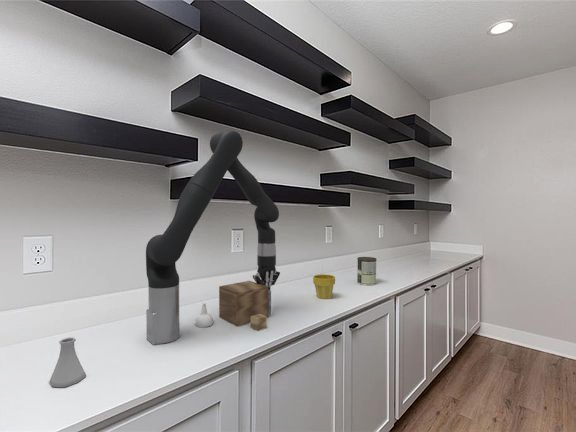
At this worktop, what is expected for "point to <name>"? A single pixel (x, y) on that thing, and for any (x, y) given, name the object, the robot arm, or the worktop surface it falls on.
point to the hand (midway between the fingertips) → (266, 296)
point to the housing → (242, 302)
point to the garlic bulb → (204, 318)
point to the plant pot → (324, 285)
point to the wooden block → (258, 322)
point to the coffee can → (366, 271)
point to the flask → (67, 365)
